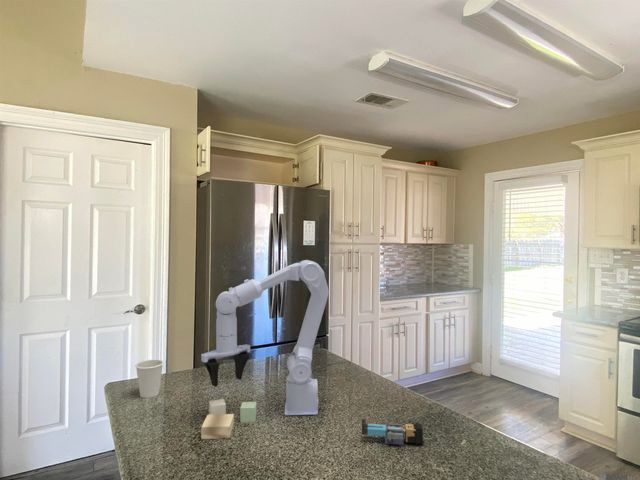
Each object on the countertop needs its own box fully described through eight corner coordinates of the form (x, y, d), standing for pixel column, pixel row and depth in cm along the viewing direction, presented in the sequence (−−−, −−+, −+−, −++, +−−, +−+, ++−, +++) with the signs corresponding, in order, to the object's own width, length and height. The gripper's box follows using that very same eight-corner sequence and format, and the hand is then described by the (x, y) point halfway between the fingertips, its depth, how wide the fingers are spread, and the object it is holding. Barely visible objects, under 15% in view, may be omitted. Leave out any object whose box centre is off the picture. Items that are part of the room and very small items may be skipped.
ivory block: (223, 412, 112) (223, 398, 112) (225, 418, 108) (225, 404, 108) (209, 415, 110) (209, 401, 110) (211, 421, 106) (211, 406, 106)
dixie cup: (164, 388, 130) (164, 358, 130) (162, 397, 122) (162, 366, 122) (137, 390, 127) (137, 360, 127) (133, 401, 119) (133, 368, 119)
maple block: (233, 425, 104) (233, 413, 104) (229, 438, 97) (229, 426, 97) (207, 425, 103) (207, 414, 103) (201, 439, 96) (201, 427, 96)
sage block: (256, 415, 110) (256, 401, 110) (255, 422, 106) (255, 407, 106) (242, 416, 109) (242, 402, 109) (240, 422, 105) (240, 408, 105)
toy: (362, 416, 100) (421, 420, 98) (362, 433, 100) (421, 437, 98) (361, 426, 94) (424, 431, 92) (361, 445, 94) (424, 449, 92)
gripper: (241, 327, 117) (241, 372, 117) (196, 336, 108) (196, 384, 108) (254, 331, 112) (254, 378, 112) (208, 340, 102) (208, 391, 102)
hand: (226, 381), depth 110 cm, fingers open, 7 cm apart
